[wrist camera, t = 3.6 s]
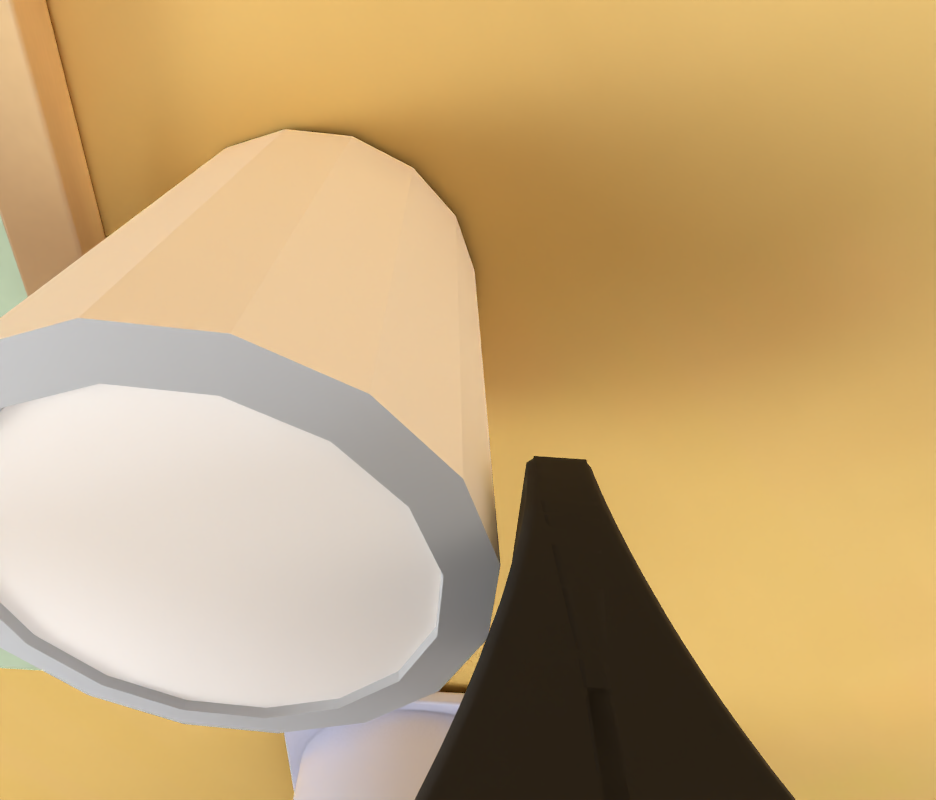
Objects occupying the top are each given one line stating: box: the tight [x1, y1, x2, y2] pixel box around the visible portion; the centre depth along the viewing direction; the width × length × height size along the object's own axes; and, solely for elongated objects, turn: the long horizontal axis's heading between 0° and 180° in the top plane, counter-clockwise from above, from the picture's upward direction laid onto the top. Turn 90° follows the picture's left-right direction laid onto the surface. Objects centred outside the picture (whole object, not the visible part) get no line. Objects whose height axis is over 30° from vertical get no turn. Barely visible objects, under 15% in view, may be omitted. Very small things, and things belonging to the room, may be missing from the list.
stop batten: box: [0, 0, 105, 297], centre depth 14 cm, size 12×1×1 cm, turn 177°
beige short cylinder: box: [0, 129, 500, 733], centre depth 12 cm, size 7×7×7 cm
